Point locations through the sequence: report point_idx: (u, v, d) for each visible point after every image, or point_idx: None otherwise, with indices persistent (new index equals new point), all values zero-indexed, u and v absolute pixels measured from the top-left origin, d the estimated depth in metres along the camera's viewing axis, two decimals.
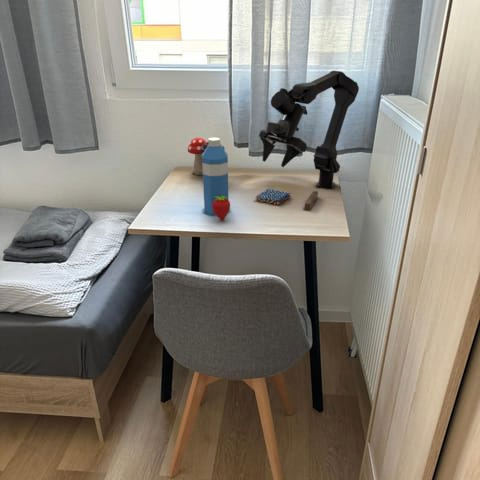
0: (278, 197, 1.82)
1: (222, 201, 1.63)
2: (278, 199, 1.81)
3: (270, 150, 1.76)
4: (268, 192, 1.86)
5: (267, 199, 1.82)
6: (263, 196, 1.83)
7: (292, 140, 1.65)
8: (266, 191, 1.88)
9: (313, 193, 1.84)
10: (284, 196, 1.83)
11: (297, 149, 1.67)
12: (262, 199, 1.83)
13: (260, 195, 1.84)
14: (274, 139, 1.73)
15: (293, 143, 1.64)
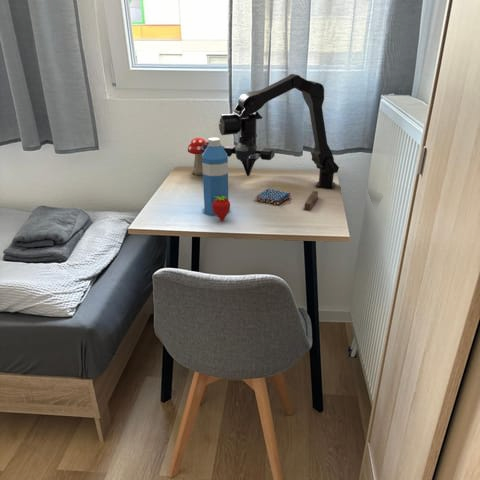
0: (278, 197, 1.82)
1: (222, 201, 1.63)
2: (278, 199, 1.81)
3: (248, 162, 1.83)
4: (268, 192, 1.86)
5: (267, 199, 1.82)
6: (263, 196, 1.83)
7: (264, 156, 1.75)
8: (266, 191, 1.88)
9: (313, 193, 1.84)
10: (284, 196, 1.83)
11: (257, 157, 1.79)
12: (262, 199, 1.83)
13: (260, 195, 1.84)
14: None
15: (266, 158, 1.75)
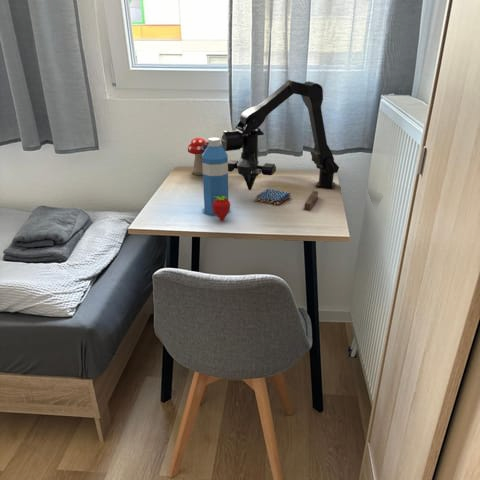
0: (278, 197, 1.82)
1: (222, 201, 1.63)
2: (278, 199, 1.81)
3: (250, 177, 1.86)
4: (268, 192, 1.86)
5: (267, 199, 1.82)
6: (263, 196, 1.83)
7: (265, 171, 1.78)
8: (266, 191, 1.88)
9: (313, 193, 1.84)
10: (284, 196, 1.83)
11: (259, 172, 1.82)
12: (262, 199, 1.83)
13: (260, 195, 1.84)
14: None
15: (268, 174, 1.78)
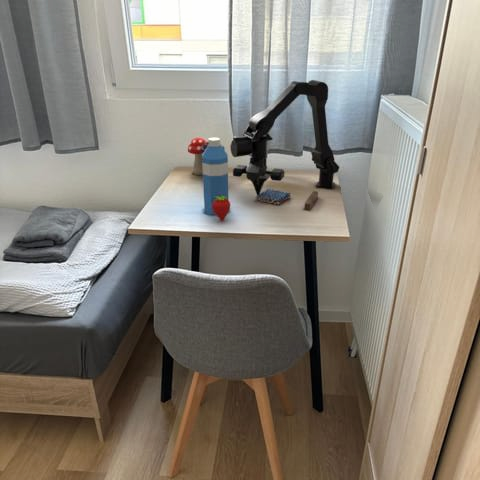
0: (278, 197, 1.82)
1: (222, 201, 1.63)
2: (278, 199, 1.81)
3: None
4: (268, 192, 1.86)
5: (267, 199, 1.82)
6: (263, 196, 1.83)
7: (274, 176, 1.78)
8: (266, 191, 1.88)
9: (313, 193, 1.84)
10: (284, 196, 1.83)
11: (267, 178, 1.82)
12: (262, 199, 1.83)
13: (260, 195, 1.84)
14: None
15: (276, 179, 1.78)
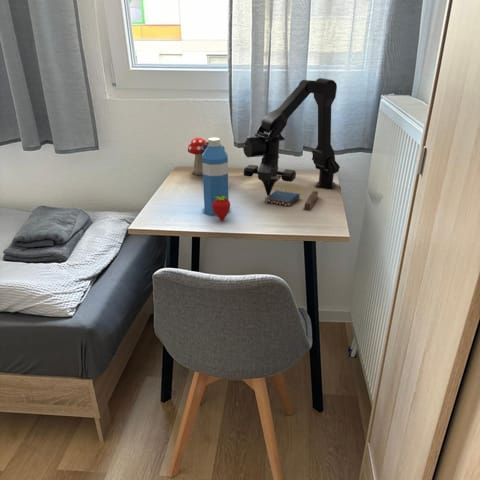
0: (288, 198, 1.80)
1: (222, 201, 1.63)
2: None
3: (269, 182, 1.84)
4: (278, 193, 1.85)
5: (277, 200, 1.81)
6: (273, 197, 1.82)
7: (285, 177, 1.76)
8: (275, 192, 1.86)
9: (313, 193, 1.84)
10: (294, 197, 1.82)
11: (278, 178, 1.81)
12: (272, 200, 1.81)
13: (270, 196, 1.83)
14: None
15: (287, 180, 1.76)
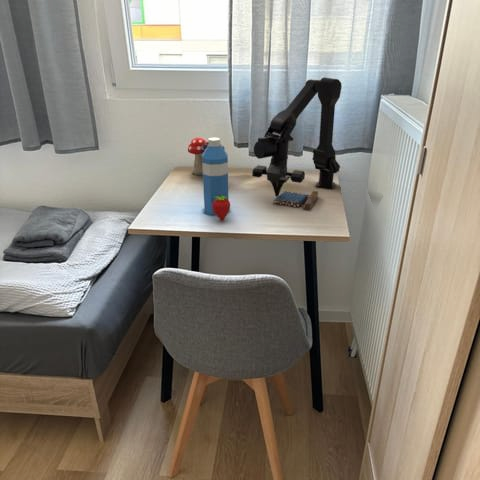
0: (297, 199, 1.80)
1: (222, 201, 1.63)
2: None
3: (277, 183, 1.83)
4: (286, 194, 1.84)
5: (286, 201, 1.80)
6: (282, 199, 1.81)
7: (294, 178, 1.75)
8: (283, 193, 1.85)
9: (313, 193, 1.84)
10: (303, 198, 1.81)
11: (287, 179, 1.79)
12: (281, 202, 1.80)
13: (279, 198, 1.82)
14: None
15: (297, 181, 1.75)
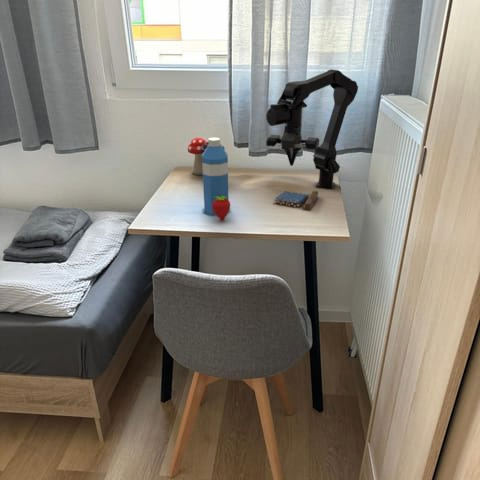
0: (297, 199, 1.80)
1: (222, 201, 1.63)
2: None
3: (292, 151, 1.82)
4: (286, 194, 1.84)
5: (286, 201, 1.80)
6: (282, 199, 1.81)
7: (309, 145, 1.74)
8: (284, 193, 1.85)
9: (313, 193, 1.84)
10: (303, 198, 1.81)
11: (301, 147, 1.78)
12: (281, 202, 1.80)
13: (279, 198, 1.82)
14: None
15: (311, 148, 1.74)
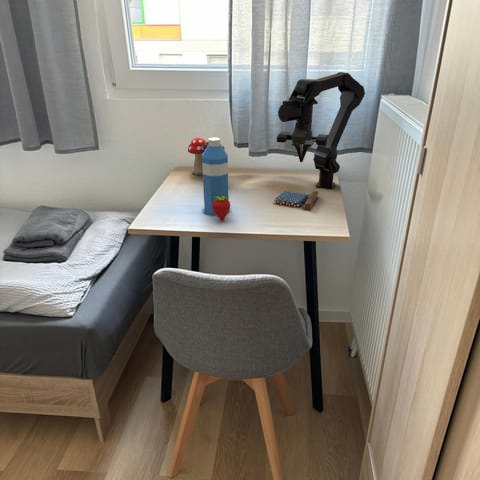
0: (297, 199, 1.80)
1: (222, 201, 1.63)
2: None
3: (301, 148, 1.83)
4: (286, 194, 1.84)
5: (286, 201, 1.80)
6: (282, 199, 1.81)
7: (319, 141, 1.76)
8: (284, 193, 1.85)
9: (313, 193, 1.84)
10: (303, 198, 1.81)
11: (312, 144, 1.80)
12: (281, 202, 1.80)
13: (279, 198, 1.82)
14: None
15: (322, 144, 1.76)
